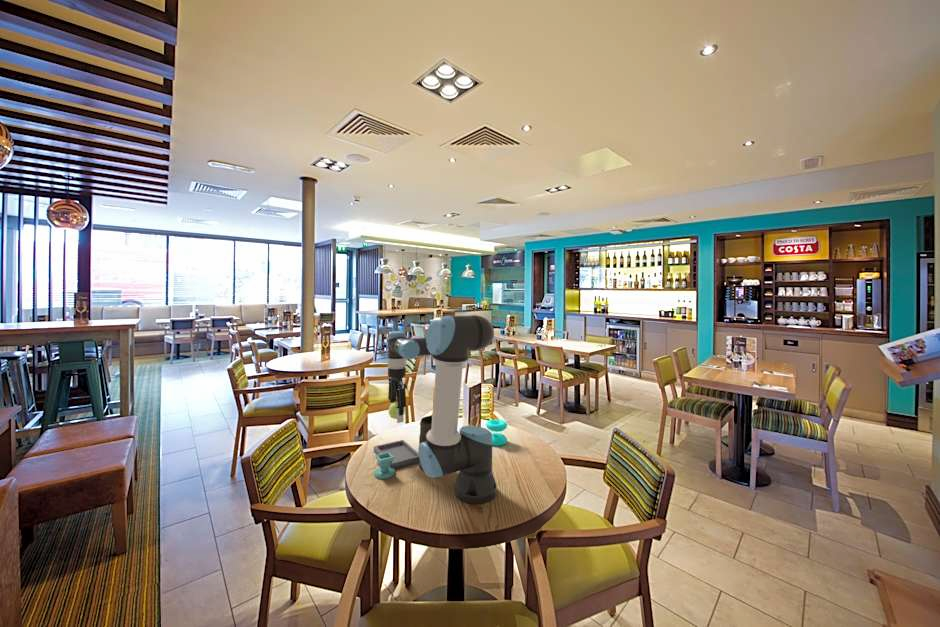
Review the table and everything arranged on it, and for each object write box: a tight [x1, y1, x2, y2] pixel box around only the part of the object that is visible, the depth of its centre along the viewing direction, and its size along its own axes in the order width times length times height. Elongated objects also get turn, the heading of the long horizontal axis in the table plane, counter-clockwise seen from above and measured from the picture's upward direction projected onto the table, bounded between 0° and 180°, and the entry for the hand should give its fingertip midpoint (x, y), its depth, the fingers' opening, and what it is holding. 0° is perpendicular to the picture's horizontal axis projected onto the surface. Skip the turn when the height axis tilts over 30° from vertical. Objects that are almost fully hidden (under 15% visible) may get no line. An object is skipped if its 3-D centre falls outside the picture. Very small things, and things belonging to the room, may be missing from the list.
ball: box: [388, 401, 406, 420], centre depth 159 cm, size 7×7×7 cm
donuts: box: [485, 418, 508, 447], centre depth 175 cm, size 10×10×10 cm
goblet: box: [373, 452, 396, 480], centre depth 144 cm, size 8×8×7 cm
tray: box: [373, 439, 420, 470], centre depth 160 cm, size 20×14×2 cm
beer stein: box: [418, 415, 432, 472], centre depth 150 cm, size 15×11×20 cm
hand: (396, 419), depth 159 cm, fingers closed on ball, 7 cm apart
